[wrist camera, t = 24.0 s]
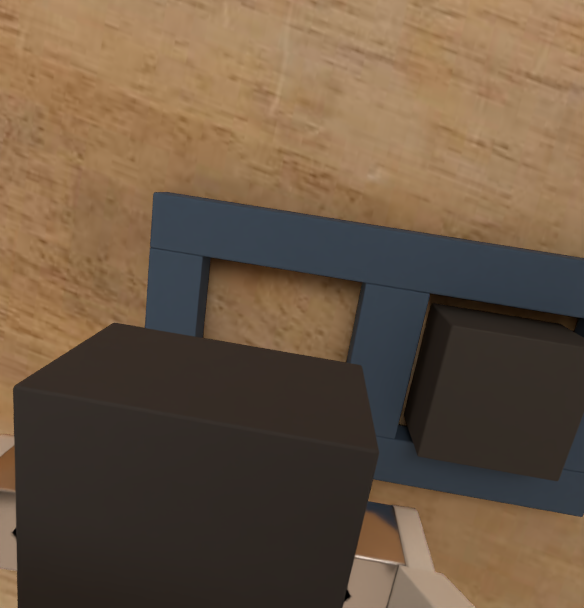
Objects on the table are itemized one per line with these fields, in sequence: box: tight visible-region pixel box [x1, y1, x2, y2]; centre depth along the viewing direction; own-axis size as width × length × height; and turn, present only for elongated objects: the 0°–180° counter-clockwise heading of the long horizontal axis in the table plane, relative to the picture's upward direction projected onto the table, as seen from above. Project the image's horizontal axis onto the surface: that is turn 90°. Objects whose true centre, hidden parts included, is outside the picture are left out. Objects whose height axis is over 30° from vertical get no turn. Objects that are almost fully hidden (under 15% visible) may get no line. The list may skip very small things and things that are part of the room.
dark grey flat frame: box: [145, 192, 584, 517], centre depth 20 cm, size 22×12×2 cm, turn 81°
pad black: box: [404, 303, 584, 481], centre depth 19 cm, size 6×6×4 cm
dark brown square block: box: [13, 323, 379, 608], centre depth 9 cm, size 6×6×4 cm
